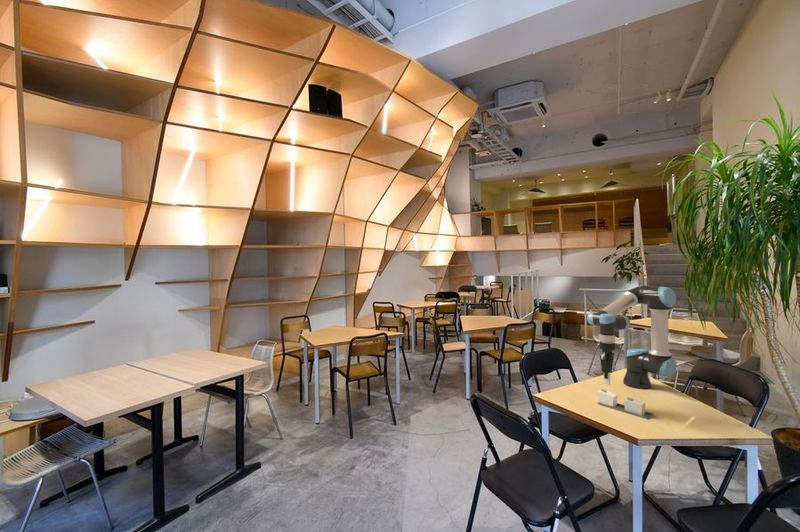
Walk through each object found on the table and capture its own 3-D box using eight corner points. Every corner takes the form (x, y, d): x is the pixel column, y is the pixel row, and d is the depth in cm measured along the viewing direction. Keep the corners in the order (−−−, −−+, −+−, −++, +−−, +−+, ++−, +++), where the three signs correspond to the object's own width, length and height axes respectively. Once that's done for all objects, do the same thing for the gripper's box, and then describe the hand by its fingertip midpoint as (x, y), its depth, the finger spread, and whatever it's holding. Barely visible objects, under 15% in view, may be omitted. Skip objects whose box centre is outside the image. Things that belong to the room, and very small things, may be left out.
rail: (602, 401, 211) (602, 398, 211) (653, 416, 191) (653, 413, 191) (596, 405, 206) (596, 402, 206) (647, 421, 186) (647, 417, 186)
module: (601, 399, 210) (602, 387, 209) (616, 405, 203) (617, 393, 202) (597, 401, 206) (598, 389, 206) (612, 407, 200) (614, 395, 199)
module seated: (628, 408, 199) (628, 396, 198) (645, 413, 192) (645, 400, 192) (624, 411, 195) (624, 398, 195) (641, 416, 189) (641, 403, 189)
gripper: (605, 339, 211) (605, 379, 212) (594, 342, 203) (594, 384, 204) (619, 341, 205) (619, 383, 206) (609, 345, 197) (608, 388, 198)
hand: (606, 384), depth 205 cm, fingers closed
